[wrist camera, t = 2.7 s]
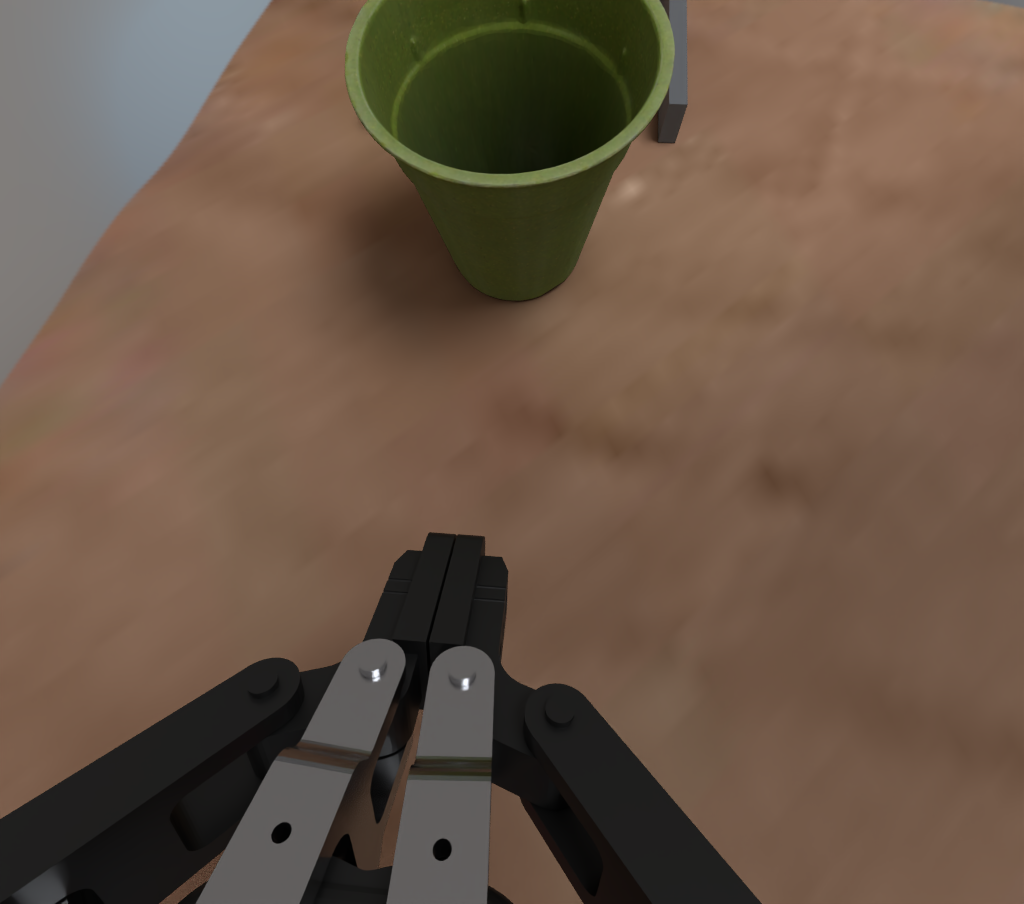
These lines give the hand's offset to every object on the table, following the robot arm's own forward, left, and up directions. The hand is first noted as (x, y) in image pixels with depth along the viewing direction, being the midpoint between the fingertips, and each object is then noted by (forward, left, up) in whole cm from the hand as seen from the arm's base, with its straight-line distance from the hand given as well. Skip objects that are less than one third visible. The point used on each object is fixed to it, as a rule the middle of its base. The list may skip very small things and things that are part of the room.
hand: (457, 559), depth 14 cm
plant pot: (0, -18, -11) cm, 21 cm away
